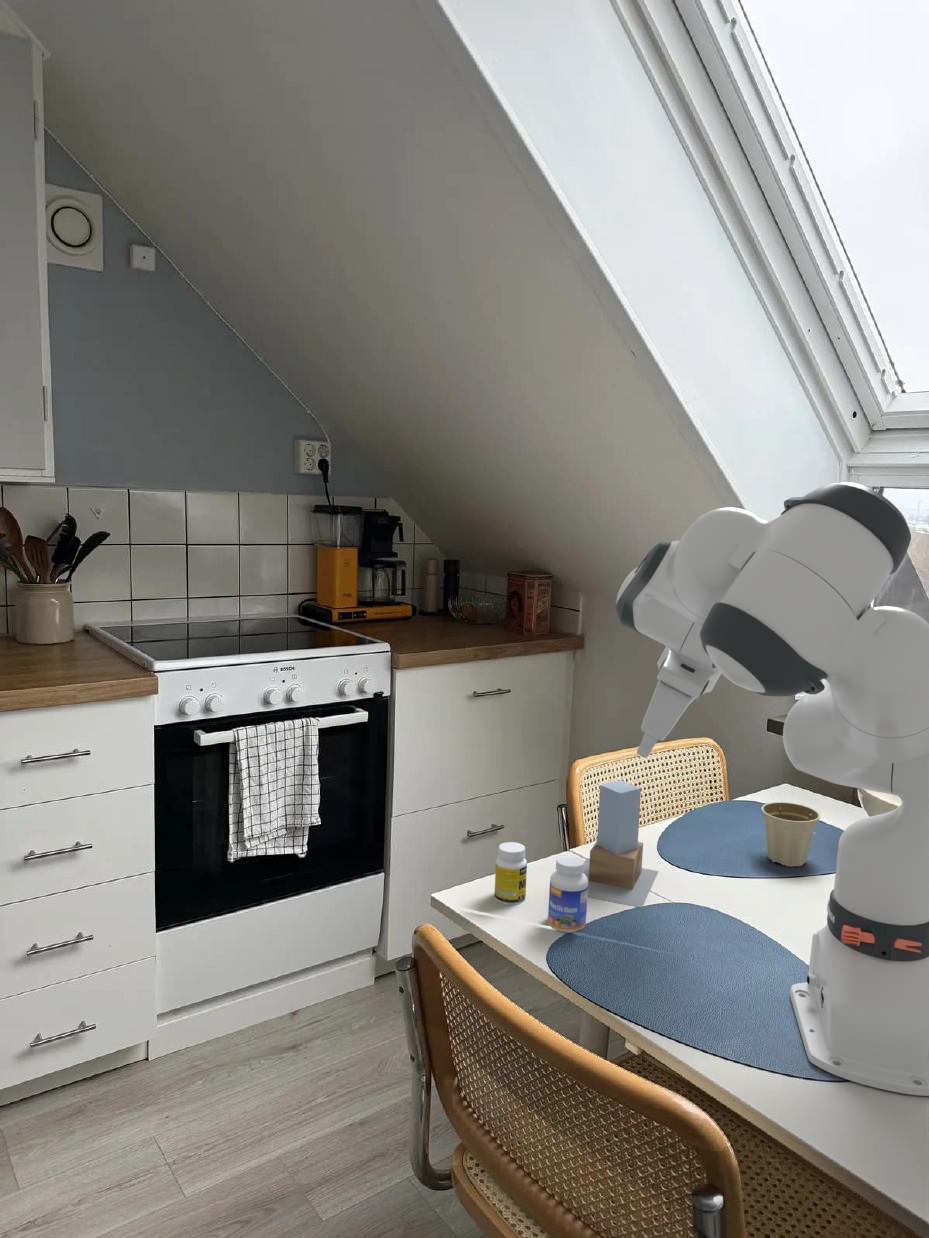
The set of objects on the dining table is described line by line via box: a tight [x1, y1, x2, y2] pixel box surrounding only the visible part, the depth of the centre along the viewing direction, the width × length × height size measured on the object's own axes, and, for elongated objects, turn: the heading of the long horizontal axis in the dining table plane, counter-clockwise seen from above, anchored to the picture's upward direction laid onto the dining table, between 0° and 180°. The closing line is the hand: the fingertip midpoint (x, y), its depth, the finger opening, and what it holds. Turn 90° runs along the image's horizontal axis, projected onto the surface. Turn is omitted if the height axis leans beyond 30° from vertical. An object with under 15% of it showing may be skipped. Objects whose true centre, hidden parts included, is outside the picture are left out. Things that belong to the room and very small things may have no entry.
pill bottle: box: [547, 854, 588, 934], centre depth 132 cm, size 5×5×10 cm
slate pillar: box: [596, 779, 642, 855], centre depth 146 cm, size 4×4×10 cm
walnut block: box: [589, 841, 644, 889], centre depth 148 cm, size 7×7×5 cm
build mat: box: [583, 857, 659, 909], centre depth 146 cm, size 14×12×1 cm
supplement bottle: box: [493, 841, 528, 906], centre depth 139 cm, size 5×5×8 cm
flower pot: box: [760, 801, 821, 867], centre depth 157 cm, size 9×9×9 cm
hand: (647, 746), depth 140 cm, fingers open, 8 cm apart
